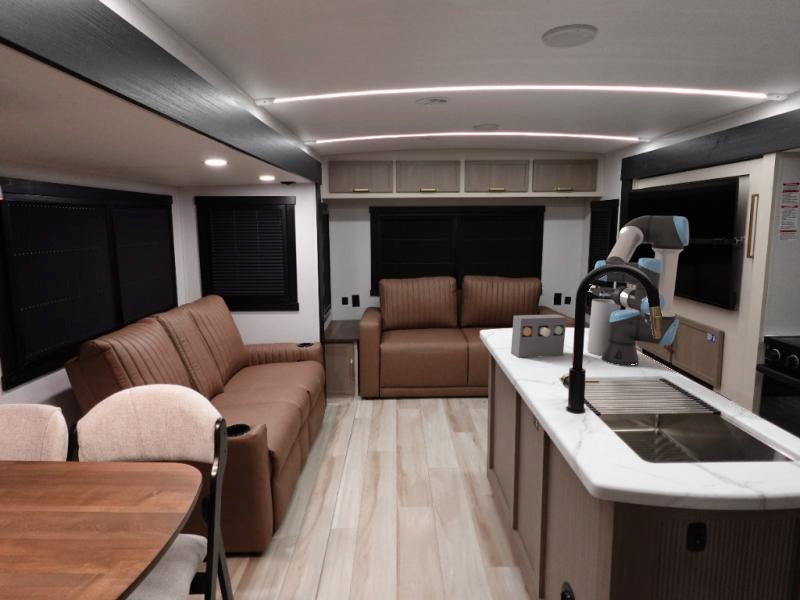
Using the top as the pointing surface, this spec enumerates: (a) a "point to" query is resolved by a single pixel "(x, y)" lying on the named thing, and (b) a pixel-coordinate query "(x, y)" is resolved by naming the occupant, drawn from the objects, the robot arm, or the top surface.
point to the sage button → (557, 329)
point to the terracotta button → (526, 331)
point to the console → (537, 336)
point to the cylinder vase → (600, 324)
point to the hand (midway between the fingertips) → (588, 287)
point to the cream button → (544, 331)
